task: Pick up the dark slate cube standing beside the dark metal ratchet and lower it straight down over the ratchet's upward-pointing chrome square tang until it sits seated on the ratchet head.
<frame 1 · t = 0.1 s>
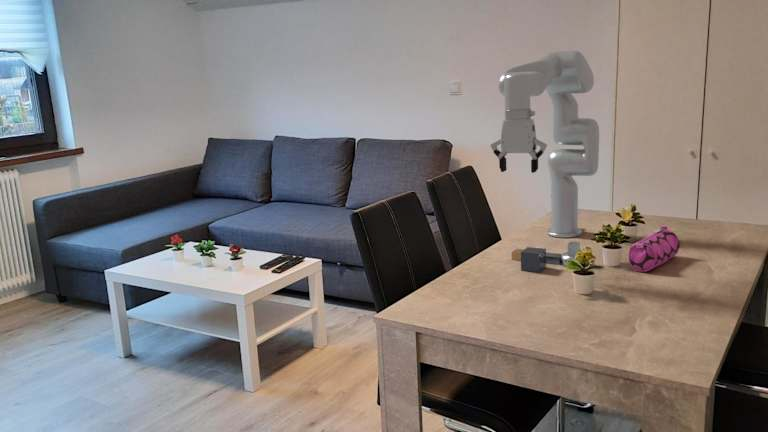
hand: (518, 171, 201), 31 cm above the table, fingers open, 9 cm apart
dark slate cube: (533, 268, 207), on the table
pencil case: (652, 264, 205), on the table
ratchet: (543, 261, 215), on the table
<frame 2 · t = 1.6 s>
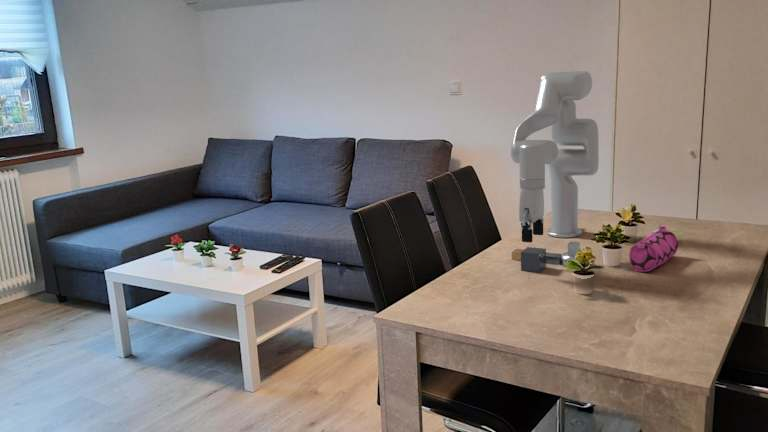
hand: (532, 238, 204), 10 cm above the table, fingers open, 9 cm apart
nothing on the table moved.
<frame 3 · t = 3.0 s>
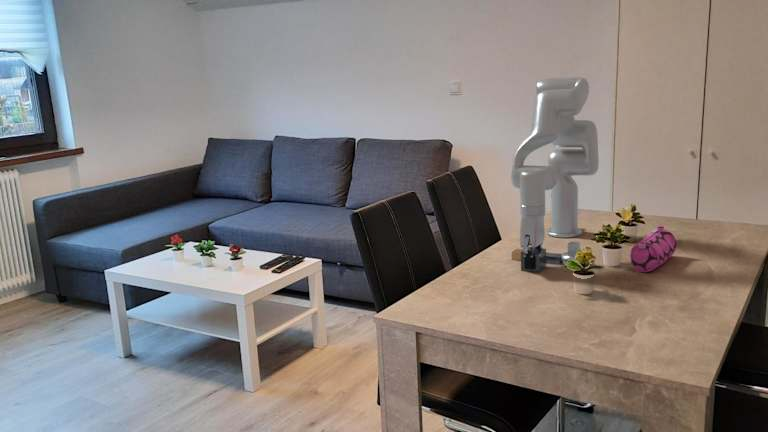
hand: (533, 265, 207), 1 cm above the table, fingers closed on dark slate cube, 6 cm apart
dark slate cube: (533, 268, 207), on the table, touching gripper
everything else where it was.
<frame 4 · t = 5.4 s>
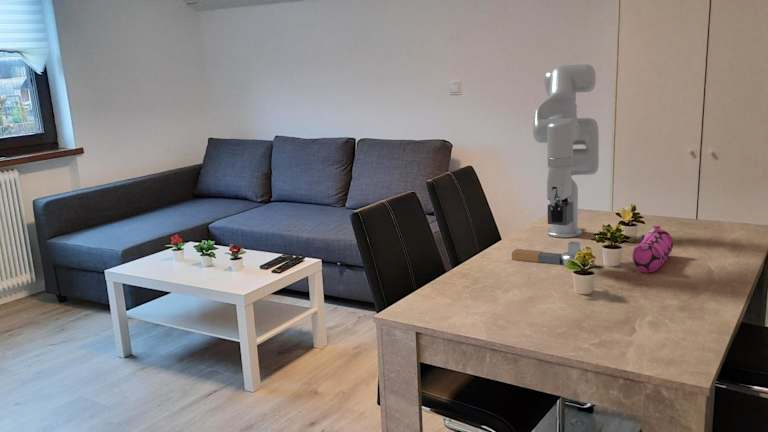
hand: (560, 218, 205), 15 cm above the table, fingers closed on dark slate cube, 6 cm apart
dark slate cube: (560, 222, 206), point 14 cm above the table, touching gripper
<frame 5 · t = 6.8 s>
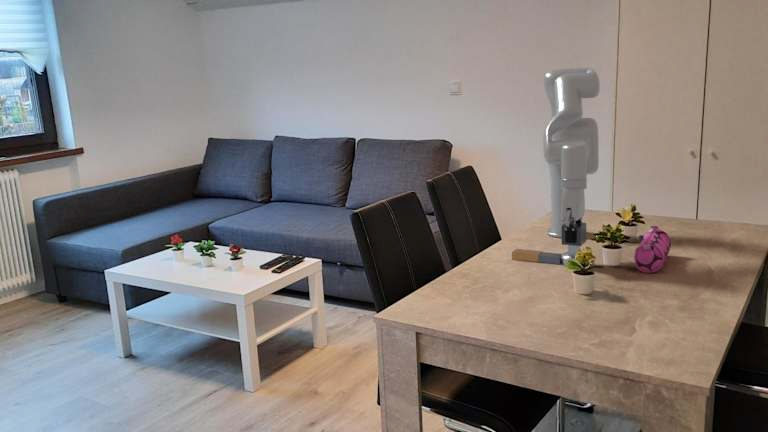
hand: (573, 239, 207), 8 cm above the table, fingers closed on dark slate cube, 6 cm apart
dark slate cube: (574, 242, 207), point 7 cm above the table, touching gripper
when the fingers open (4 cm above the table, at t = 8.0 s): dark slate cube stays where it is, resting on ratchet.
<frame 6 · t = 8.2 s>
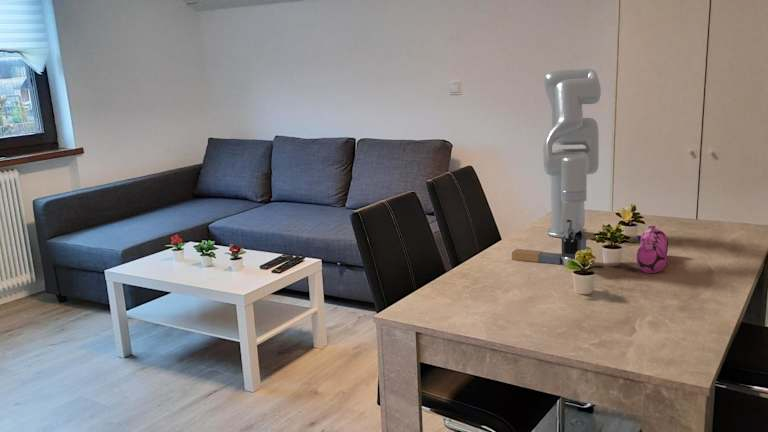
hand: (573, 249, 208), 5 cm above the table, fingers open, 8 cm apart
dark slate cube: (573, 255, 209), point 3 cm above the table, touching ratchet
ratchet: (543, 260, 215), on the table, touching dark slate cube
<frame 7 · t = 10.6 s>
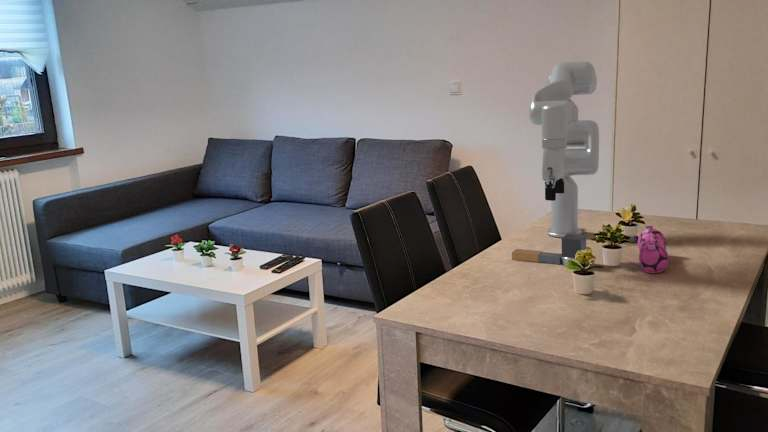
hand: (554, 196, 211), 21 cm above the table, fingers open, 9 cm apart
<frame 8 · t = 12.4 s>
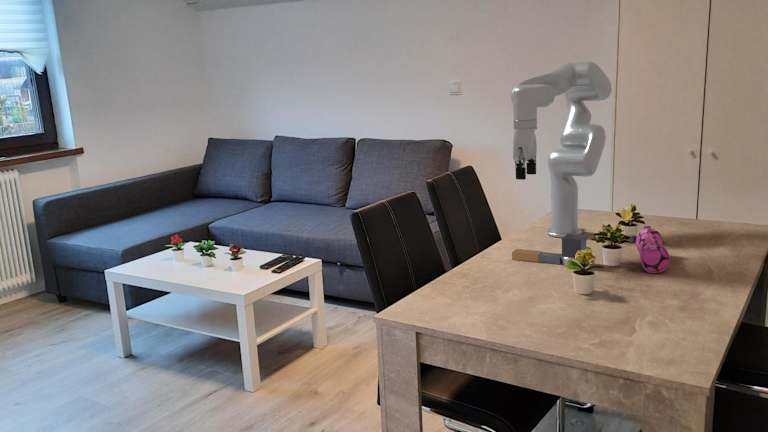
hand: (526, 176, 219), 26 cm above the table, fingers open, 9 cm apart
at the end: dark slate cube 0.1 cm from the target spot on the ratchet, point 3.0 cm above the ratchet's base; dark slate cube tilted 0°; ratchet moved 0.2 cm from its start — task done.
